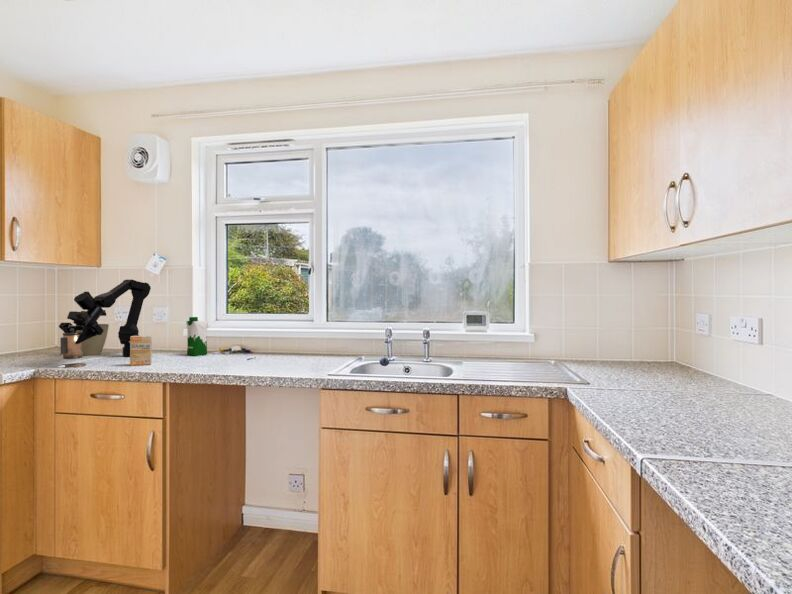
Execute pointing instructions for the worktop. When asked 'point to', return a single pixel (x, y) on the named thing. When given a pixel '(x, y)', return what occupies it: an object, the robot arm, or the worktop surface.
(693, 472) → the worktop surface
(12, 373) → the worktop surface
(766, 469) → the worktop surface
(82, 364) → the trivet
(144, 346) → the supplement box
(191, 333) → the milk carton
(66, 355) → the copper cylinder
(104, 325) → the plant pot
